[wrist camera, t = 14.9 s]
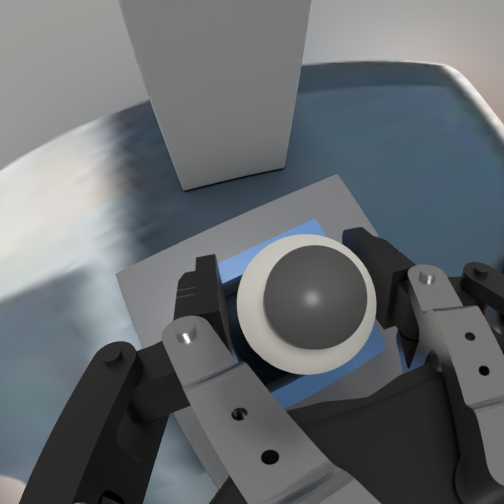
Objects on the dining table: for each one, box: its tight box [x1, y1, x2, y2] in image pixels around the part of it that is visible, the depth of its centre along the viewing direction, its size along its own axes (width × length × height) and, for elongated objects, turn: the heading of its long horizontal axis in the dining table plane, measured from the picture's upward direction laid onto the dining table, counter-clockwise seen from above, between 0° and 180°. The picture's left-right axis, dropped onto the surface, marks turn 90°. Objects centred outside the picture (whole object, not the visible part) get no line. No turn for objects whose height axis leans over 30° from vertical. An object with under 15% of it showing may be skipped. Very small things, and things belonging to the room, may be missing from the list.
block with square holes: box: [116, 174, 403, 489], centre depth 13 cm, size 14×24×3 cm, turn 26°
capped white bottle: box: [237, 234, 376, 375], centre depth 12 cm, size 4×4×10 cm
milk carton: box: [118, 0, 311, 190], centre depth 12 cm, size 7×7×19 cm
